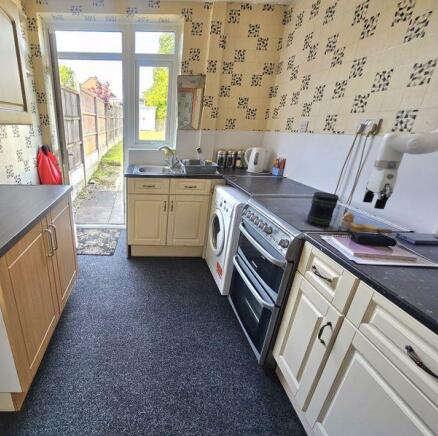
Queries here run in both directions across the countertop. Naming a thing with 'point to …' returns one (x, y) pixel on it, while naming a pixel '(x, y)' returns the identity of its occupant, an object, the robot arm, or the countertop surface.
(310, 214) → the storage jar
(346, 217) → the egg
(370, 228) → the brush
